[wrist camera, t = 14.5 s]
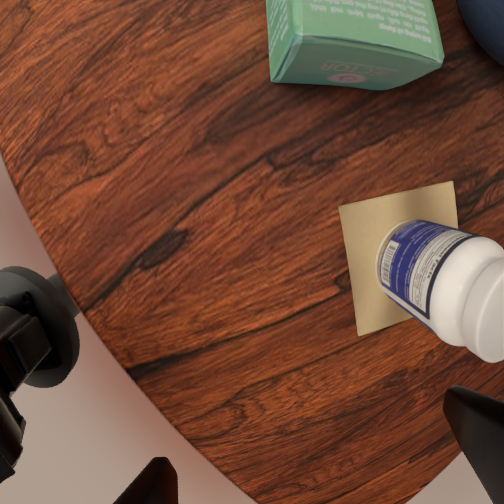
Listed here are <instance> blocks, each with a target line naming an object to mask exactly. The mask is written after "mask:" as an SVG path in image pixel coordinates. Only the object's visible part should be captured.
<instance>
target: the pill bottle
mask: <svg viewBox="0 0 504 504" xmlns="http://www.w3.org/2000/svg"><path fill="white" fill-rule="evenodd" d="M375 273H376V278H377V281H378V284H379V286H380V288H381V290H382V291H383V292H384V293H385V295H386V296H387V297H388V298H389V299H391V300H392V301H393V302H395V303H396V304H397V305H398V306H400V307H401V308H402V309H404V310H405V311H406V312H407V313H409V314H410V315H411V316H412V317H414V318H415V319H416V320H417V321H419V322H420V323H421V324H423V325H424V326H425V327H426V328H428V329H429V330H430V331H431V332H432V333H434V334H435V335H436V336H437V337H439V338H440V339H441V340H443V341H444V342H446V343H448V344H451V345H454V346H466V347H467V348H468V349H469V350H470V351H471V352H473V353H474V354H476V355H477V356H478V357H480V358H481V359H483V360H484V361H486V362H490V363H495V362H499V361H501V360H503V359H504V249H503V248H502V247H501V246H500V245H499V244H498V243H497V242H495V241H493V240H491V239H489V238H486V237H483V236H480V235H477V234H473V233H470V232H466V231H463V230H459V229H456V228H452V227H449V226H445V225H441V224H438V223H434V222H430V221H426V220H422V219H410V220H406V221H403V222H401V223H399V224H397V225H396V226H395V227H393V228H392V229H391V230H390V231H389V232H388V233H387V234H386V236H385V237H384V239H383V240H382V242H381V244H380V246H379V249H378V251H377V255H376V261H375Z"/></svg>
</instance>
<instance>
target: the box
mask: <svg viewBox="0 0 504 504" xmlns="http://www.w3.org/2000/svg"><path fill="white" fill-rule="evenodd" d="M266 13H267V28H268V44H269V63H270V76H271V82H275V83H298V84H319V85H334V86H345V87H354V88H362V89H368V90H388V89H392V88H395V87H398V86H401V85H404V84H407V83H409V82H411V81H413V80H416V79H418V78H420V77H422V76H424V75H426V74H428V73H430V72H432V71H434V70H437V69H439V68H441V66H442V63H443V59H444V52H443V47H442V42H441V37H440V32H439V28H438V23H437V19H436V15H435V11H434V7H433V3H432V0H266Z"/></svg>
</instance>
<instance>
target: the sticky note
mask: <svg viewBox="0 0 504 504" xmlns="http://www.w3.org/2000/svg"><path fill="white" fill-rule="evenodd" d="M338 209H339V214H340V219H341V225H342V230H343V236H344V241H345V247H346V253H347V260H348V266H349V273H350V279H351V286H352V293H353V301H354V309H355V317H356V325H357V334H358V336H362V335H365V334H368V333H371V332H374V331H377V330H379V329H382V328H385V327H388V326H391V325H393V324H396V323H399V322H402V321H404V320H407V319H410V318H412V316H411V315H410V314H409V313H407V312H406V311H405V310H404V309H402V308H401V307H400V306H398V305H397V304H396V303H395V302H393V301H392V300H391V299H389V298H388V297H387V296H386V295H385V293H384V292H383V291H382V290H381V288H380V286H379V284H378V281H377V278H376V273H375V261H376V255H377V251H378V249H379V246H380V244H381V242H382V240H383V239H384V237H385V236H386V234H387V233H388V232H389V231H390V230H391V229H392V228H393V227H395V226H396V225H397V224H399V223H401V222H403V221H406V220H410V219H422V220H426V221H430V222H434V223H438V224H441V225H445V226H449V227H452V228H456V229H458V222H457V211H456V201H455V193H454V185H453V181H447V182H443V183H438V184H433V185H429V186H424V187H420V188H415V189H411V190H406V191H402V192H397V193H393V194H388V195H384V196H380V197H375V198H371V199H367V200H362V201H358V202H354V203H349V204H345V205H341V206H338Z"/></svg>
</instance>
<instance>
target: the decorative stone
mask: <svg viewBox="0 0 504 504" xmlns="http://www.w3.org/2000/svg"><path fill="white" fill-rule="evenodd" d="M456 1H457V4H458V8H459V11H460V13H461V16H462V18H463V20H464V22H465V24H466V25H467V27H468V29H469V31H470V32H471V34H472V36H473V37H474V38H475V40H476V41H477V42H478V44H479V45H480V46H481V47H482V48H483V49H484V50H485V51H486V52H487V53H488V54H489V56H491V57H492V58H493V59H494V60H495V61H496V62H498V63H499V64H501V65H502V66H504V0H456Z"/></svg>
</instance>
